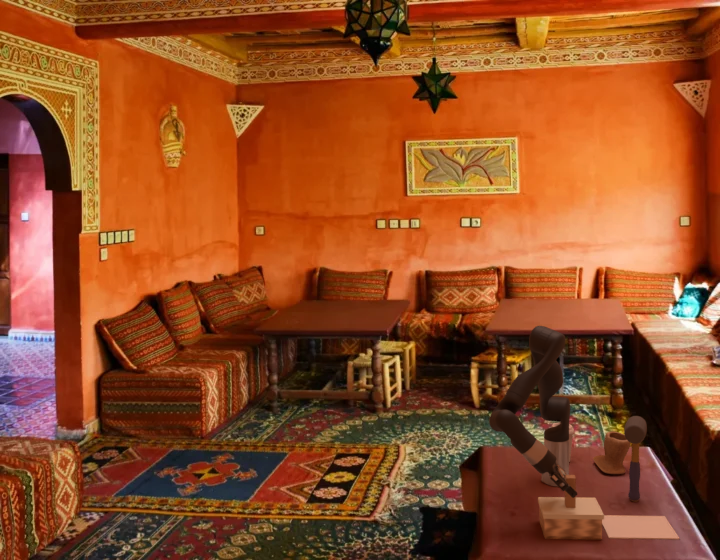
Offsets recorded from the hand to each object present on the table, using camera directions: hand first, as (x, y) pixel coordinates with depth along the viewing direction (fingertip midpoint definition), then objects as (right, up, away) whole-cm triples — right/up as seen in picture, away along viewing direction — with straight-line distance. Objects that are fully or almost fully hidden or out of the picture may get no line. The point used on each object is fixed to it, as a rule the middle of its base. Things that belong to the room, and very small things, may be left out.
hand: (574, 490), depth 268 cm
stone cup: (+30, -6, +55) cm, 63 cm away
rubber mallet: (+28, -10, +25) cm, 39 cm away
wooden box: (-1, -14, +2) cm, 14 cm away
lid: (-1, -7, +1) cm, 7 cm away
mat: (+22, -13, +3) cm, 25 cm away
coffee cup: (+12, -5, +65) cm, 67 cm away
